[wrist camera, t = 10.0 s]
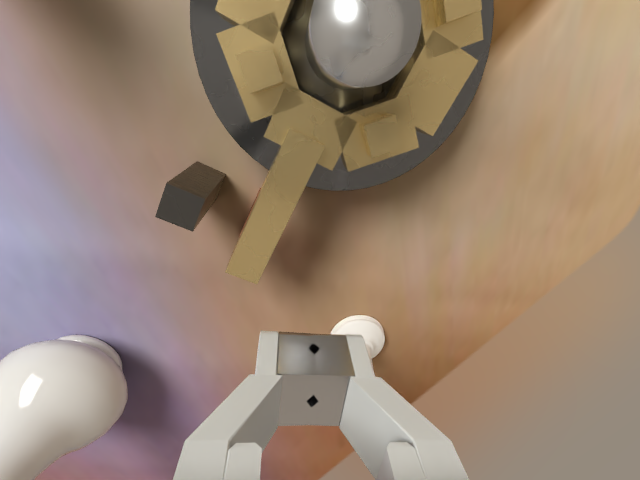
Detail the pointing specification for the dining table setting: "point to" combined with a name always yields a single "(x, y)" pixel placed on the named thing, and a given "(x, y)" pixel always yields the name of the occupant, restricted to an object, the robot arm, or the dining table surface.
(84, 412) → the flower vase
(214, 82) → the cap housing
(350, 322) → the chess piece
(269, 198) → the gold ring with handle
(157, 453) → the dining table surface
